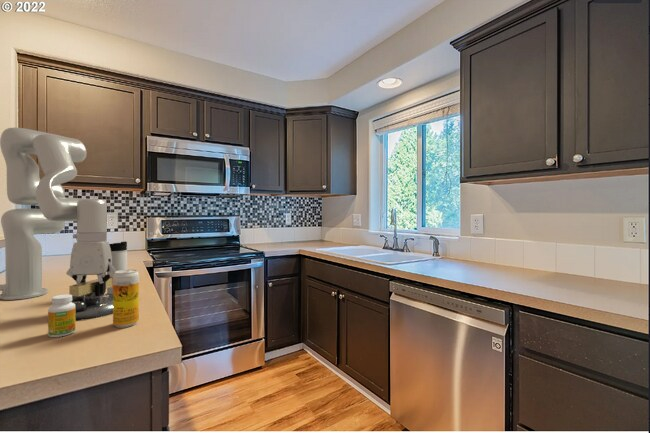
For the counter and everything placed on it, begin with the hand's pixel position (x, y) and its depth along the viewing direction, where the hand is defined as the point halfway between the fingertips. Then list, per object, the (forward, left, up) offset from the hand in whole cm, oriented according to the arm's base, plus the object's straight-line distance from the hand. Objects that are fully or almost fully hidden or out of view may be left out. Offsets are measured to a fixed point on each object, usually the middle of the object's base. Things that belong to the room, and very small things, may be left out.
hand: (92, 294), depth 98 cm
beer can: (+16, -14, -5) cm, 22 cm away
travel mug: (-1, +18, -5) cm, 19 cm away
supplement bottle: (+3, -19, -5) cm, 20 cm away
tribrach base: (0, 0, -5) cm, 5 cm away
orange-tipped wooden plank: (0, 0, -3) cm, 3 cm away
